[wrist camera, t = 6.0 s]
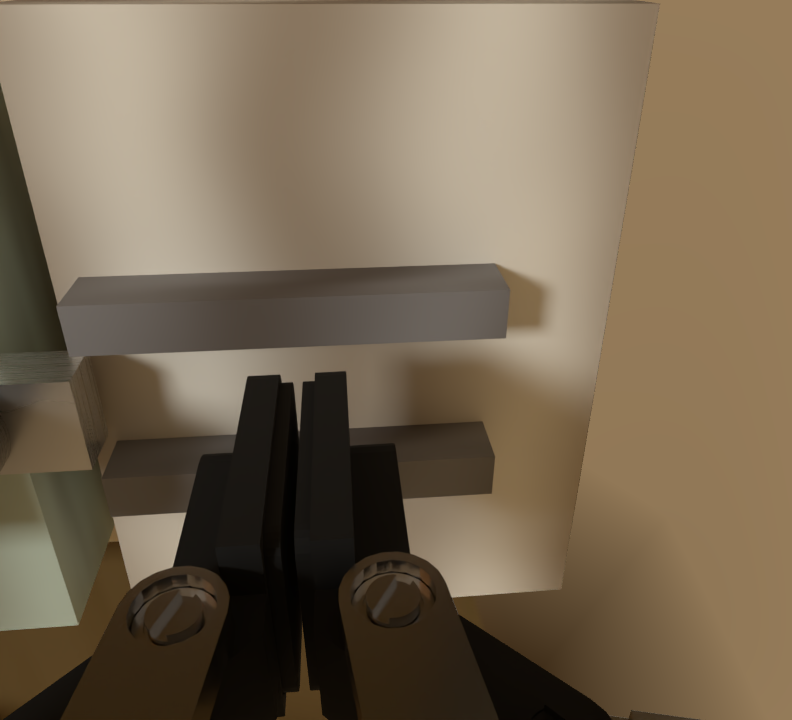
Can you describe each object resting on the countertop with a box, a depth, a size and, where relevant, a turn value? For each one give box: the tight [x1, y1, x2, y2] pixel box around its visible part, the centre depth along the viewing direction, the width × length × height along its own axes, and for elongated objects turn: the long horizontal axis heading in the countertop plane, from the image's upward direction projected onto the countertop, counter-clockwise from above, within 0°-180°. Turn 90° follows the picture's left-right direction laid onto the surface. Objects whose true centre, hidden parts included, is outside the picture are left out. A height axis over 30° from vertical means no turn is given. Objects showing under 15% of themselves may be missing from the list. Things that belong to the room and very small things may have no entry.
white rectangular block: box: [0, 0, 660, 631], centre depth 15 cm, size 20×16×9 cm
